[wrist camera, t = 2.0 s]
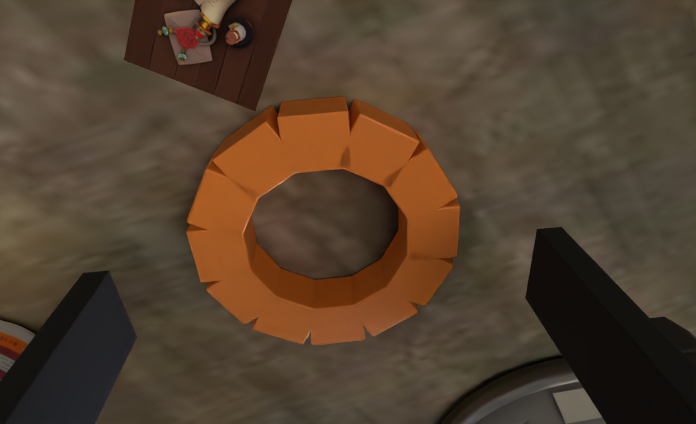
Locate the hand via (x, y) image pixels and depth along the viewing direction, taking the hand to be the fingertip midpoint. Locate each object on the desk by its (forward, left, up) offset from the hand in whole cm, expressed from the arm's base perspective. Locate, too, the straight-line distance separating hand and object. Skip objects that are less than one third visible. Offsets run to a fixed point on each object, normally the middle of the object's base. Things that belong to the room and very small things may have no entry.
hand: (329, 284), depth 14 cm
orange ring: (0, 0, -5) cm, 5 cm away
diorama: (+8, +3, -5) cm, 10 cm away
